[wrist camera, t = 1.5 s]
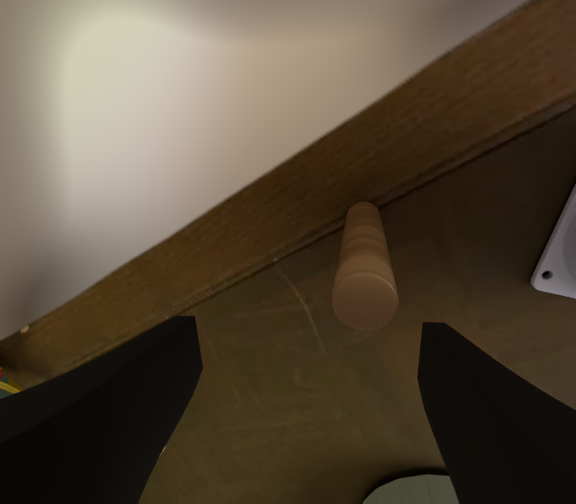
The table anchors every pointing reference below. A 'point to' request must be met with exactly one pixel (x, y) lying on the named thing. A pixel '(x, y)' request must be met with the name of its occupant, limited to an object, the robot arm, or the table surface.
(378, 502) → the bowl
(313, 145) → the table surface
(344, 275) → the stir stick
